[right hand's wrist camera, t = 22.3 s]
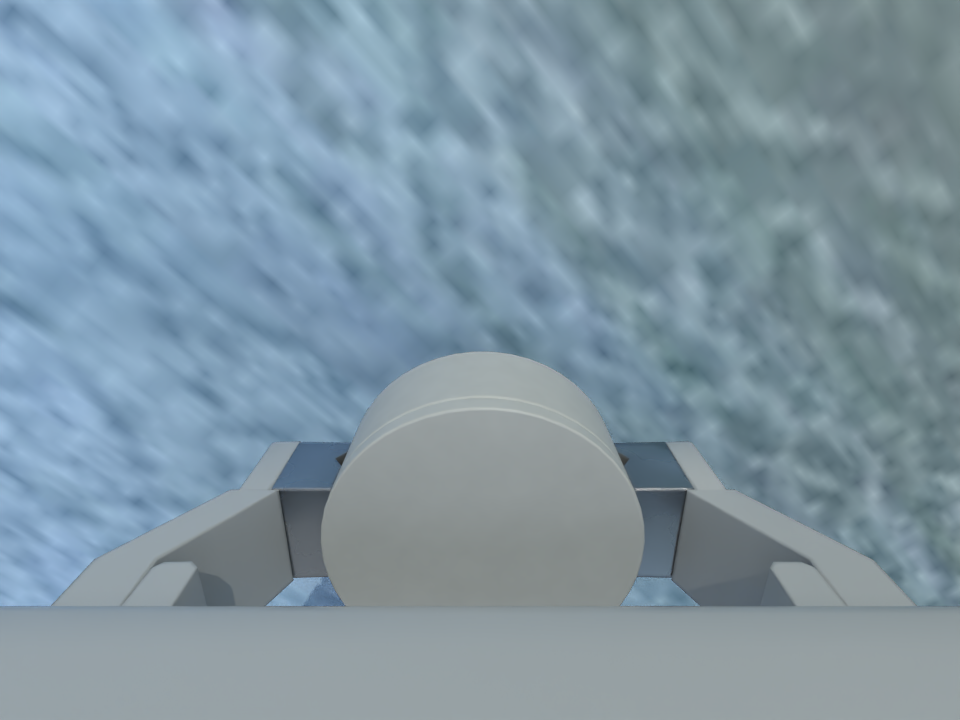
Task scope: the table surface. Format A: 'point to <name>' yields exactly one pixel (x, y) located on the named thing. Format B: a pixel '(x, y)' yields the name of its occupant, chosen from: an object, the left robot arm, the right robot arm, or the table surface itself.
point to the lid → (482, 493)
